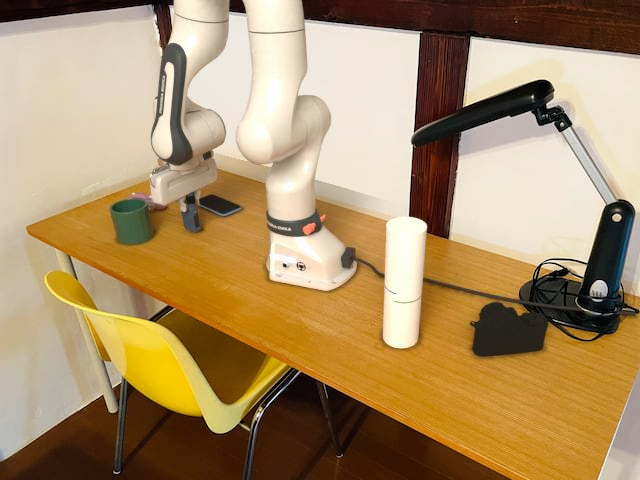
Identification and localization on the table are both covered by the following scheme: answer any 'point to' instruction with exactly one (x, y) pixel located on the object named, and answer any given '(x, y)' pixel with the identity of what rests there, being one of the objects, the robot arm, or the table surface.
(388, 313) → the cylindrical container
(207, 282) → the table surface
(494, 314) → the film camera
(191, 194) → the vaping device
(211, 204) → the smartphone
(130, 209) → the pen cup
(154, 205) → the video game controller
